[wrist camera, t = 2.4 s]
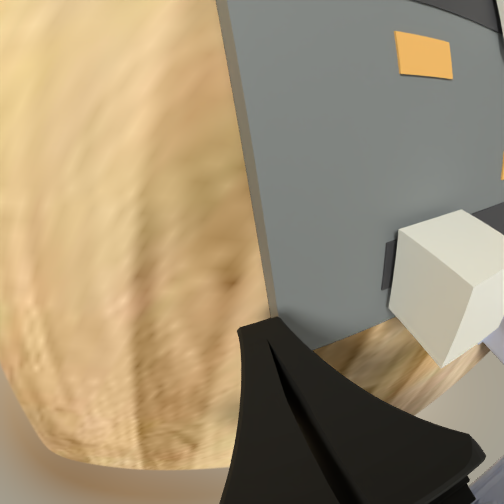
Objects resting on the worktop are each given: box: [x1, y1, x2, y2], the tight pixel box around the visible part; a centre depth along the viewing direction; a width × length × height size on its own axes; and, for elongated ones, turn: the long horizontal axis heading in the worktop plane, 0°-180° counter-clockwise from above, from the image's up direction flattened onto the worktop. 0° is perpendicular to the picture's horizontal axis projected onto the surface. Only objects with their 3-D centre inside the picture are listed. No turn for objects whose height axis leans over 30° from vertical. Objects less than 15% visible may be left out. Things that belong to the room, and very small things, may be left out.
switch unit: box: [216, 0, 504, 350], centre depth 10 cm, size 19×22×2 cm
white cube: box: [388, 209, 504, 368], centre depth 10 cm, size 4×4×4 cm
